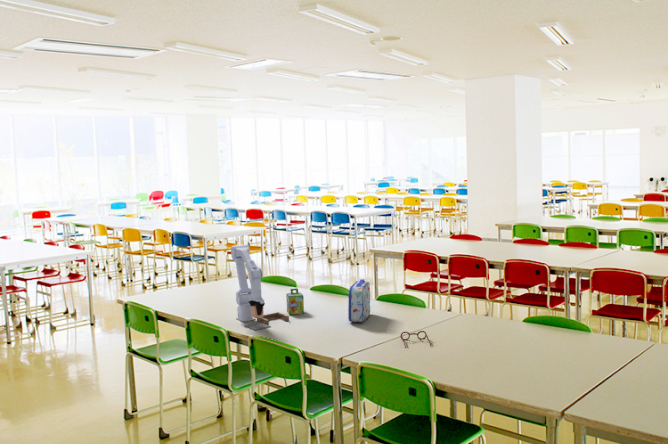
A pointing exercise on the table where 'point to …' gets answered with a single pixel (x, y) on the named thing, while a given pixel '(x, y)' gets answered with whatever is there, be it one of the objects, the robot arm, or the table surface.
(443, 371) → the table surface
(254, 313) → the terracotta block
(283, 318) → the walnut stall
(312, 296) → the table surface
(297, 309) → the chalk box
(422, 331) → the glasses
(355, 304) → the lunch box
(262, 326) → the slate mat
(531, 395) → the table surface
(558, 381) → the table surface
